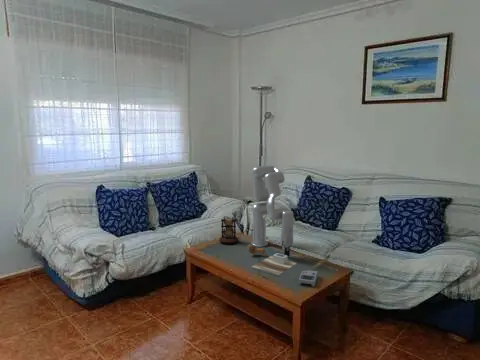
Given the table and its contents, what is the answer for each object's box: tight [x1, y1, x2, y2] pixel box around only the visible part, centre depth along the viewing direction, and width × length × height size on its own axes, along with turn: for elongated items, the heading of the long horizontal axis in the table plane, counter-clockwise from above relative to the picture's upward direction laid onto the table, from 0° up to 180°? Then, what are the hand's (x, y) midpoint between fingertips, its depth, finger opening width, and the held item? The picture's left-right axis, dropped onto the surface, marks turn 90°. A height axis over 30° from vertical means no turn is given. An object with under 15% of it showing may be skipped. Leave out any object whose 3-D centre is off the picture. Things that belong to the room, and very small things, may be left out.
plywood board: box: [251, 255, 297, 278], centre depth 217 cm, size 22×20×2 cm
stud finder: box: [272, 252, 289, 264], centre depth 222 cm, size 5×8×4 cm, turn 52°
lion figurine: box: [246, 244, 268, 258], centre depth 233 cm, size 15×5×9 cm, turn 86°
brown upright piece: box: [218, 216, 239, 245], centre depth 264 cm, size 15×15×20 cm
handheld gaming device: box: [298, 269, 319, 287], centre depth 198 cm, size 9×15×4 cm, turn 160°
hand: (286, 255), depth 229 cm, fingers closed
